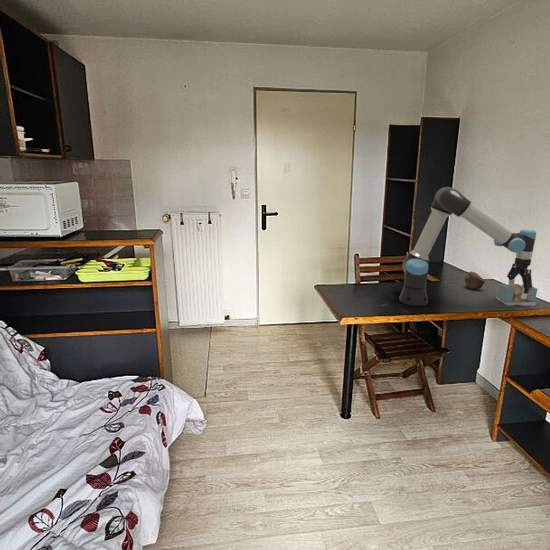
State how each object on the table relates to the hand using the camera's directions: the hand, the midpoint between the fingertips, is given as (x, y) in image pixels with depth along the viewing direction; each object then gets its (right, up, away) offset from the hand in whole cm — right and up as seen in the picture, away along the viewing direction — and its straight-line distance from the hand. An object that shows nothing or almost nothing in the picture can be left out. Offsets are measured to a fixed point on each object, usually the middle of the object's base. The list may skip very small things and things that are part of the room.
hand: (516, 294), depth 224 cm
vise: (0, -4, +1) cm, 4 cm away
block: (0, -3, +1) cm, 3 cm away
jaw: (-6, -3, +1) cm, 7 cm away
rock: (-13, +2, +25) cm, 28 cm away
